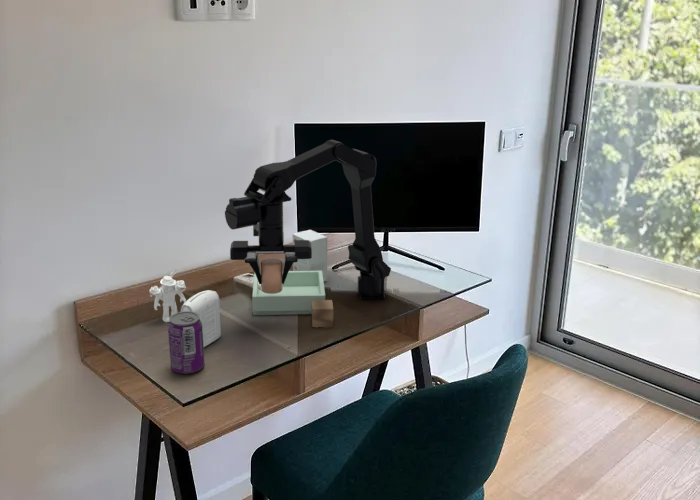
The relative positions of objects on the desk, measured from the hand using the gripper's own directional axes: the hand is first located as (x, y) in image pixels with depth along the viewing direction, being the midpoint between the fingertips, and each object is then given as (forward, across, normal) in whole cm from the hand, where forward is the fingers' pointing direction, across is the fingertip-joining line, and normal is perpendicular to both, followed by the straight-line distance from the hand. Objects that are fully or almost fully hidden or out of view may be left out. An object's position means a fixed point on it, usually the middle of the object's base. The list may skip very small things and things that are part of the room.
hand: (271, 283), depth 173 cm
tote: (+11, -4, -13) cm, 17 cm away
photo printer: (+11, +16, +9) cm, 21 cm away
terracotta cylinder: (+2, 0, 0) cm, 2 cm away
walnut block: (+11, -12, 0) cm, 16 cm away
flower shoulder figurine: (+11, +25, -4) cm, 28 cm away
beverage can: (+11, +18, +20) cm, 29 cm away
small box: (+11, -10, -27) cm, 31 cm away
